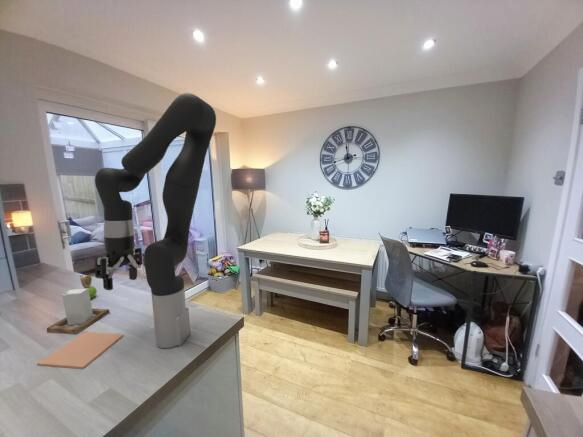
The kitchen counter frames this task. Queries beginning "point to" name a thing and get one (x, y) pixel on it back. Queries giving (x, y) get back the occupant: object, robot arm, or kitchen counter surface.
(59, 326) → the walnut collar
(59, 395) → the kitchen counter surface
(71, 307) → the skincare box
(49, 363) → the terracotta mat
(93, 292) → the snail figurine
